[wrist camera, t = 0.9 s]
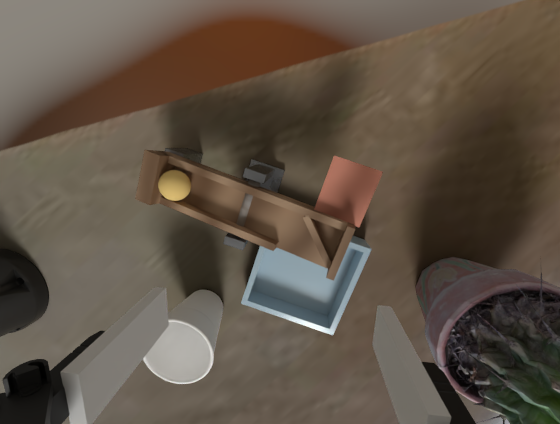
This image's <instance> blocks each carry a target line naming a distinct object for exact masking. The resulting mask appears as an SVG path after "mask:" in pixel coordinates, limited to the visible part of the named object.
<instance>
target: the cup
mask: <svg viewBox="0 0 560 424" xmlns="http://www.w3.org/2000/svg"><path fill="white" fill-rule="evenodd" d="M222 313H223V303H222V301H221V299H220V297H219V296H218V295H217V294H215V293H214V292H212V291H209V290H198V291H195V292H194V293H192V294H191V295H190V296H189V297H187V298H186V299H185V300H184V301H182V302H181V303H180V304H179V305H177V306H176V307H175V308H174V309H172V310H171V311H170V312H169V313H168V322H169V326H168V327H167V329H166V330H165V331H164V332H163V334H162V335H161V336H160V338H159V339H158V340H157V341H156V343H155V344H154V345H153V346H152V348H151V349H150V350H149V352H148V353H147V354H146V355H145V357H144V358H143V360H144V362H145V364H146V365H147V367H148V368H149V369H150V370H151V371H152V372H153V373H154V374H156V375H157V376H158V377H160V378H162V379H164V380H166V381H169V382H172V383H177V384H187V383H193V382H196V381H198V380H200V379H202V378H203V377H204V376H205V375H206V374H207V373H208V372H209V371H210V369H211V367H212V364H213V360H214V349H215V345H216V339H217V335H218V331H219V326H220V322H221V318H222Z"/></svg>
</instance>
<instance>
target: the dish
mask: <svg viewBox="0 0 560 424" xmlns="http://www.w3.org/2000/svg"><path fill="white" fill-rule="evenodd" d="M370 252H371V248H370V246H369V245H368V244H367V242H366V241H365V240H364V239H361V238H359V237H356V236H352V239H351V241H350V243H349V246H348V248H347V250H346V253H345V255H344V258H343V260H342V262H341V265H340V267H339V269H338V272H337V274H336V276H335V279H334V281H333V280H330V279H328V278H326V276H327V271H328V269H327V268H325V267H322V266H320V265H317V264H315V263H313V262H310V261H308V260H305V259H303V258H301V257H298V256H296V255H294V254H291V253H289V252H286V251H284V250H282V249H279V248H276V249H275V250H274V251H272V250H269V249H267V248H264V247H262V246H260V248H259V251H258V254H257V257H256V260H255V263H254V266H253V269H252V272H251V275H250V278H249V281H248V284H247V287H246V290H245V293H244V296H243V299H242V302H241V304H244V305H247V306H250V307H253V308H255V309H258V310H261V311H264V312H267V313H270V314H273V315H276V316H279V317H281V318H284V319H287V320H290V321H293V322H296V323H299V324H302V325H305V326H308V327H310V328H313V329H316V330H319V331H322V332H325V333H328V334H331V335H333V334H334V332H335V329H336V327H337V325H338V323H339V320H340V318H341V316H342V314H343V312H344V309H345V307H346V305H347V303H348V300H349V298H350V296H351V294H352V292H353V289H354V287H355V285H356V283H357V280H358V278H359V276H360V274H361V272H362V269H363V267H364V265H365V263H366V260H367V258H368V256H369V254H370Z"/></svg>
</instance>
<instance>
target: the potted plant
mask: <svg viewBox="0 0 560 424" xmlns="http://www.w3.org/2000/svg"><path fill="white" fill-rule="evenodd" d="M540 259H541V258H540ZM416 293H417V298H418V301H419V304H420V307H421V310H422V313H423V316H424V319H425V322H426V325H425V335H426V338H427V341H428V345H429V348H430V351H431V353H432V355H433V357H434V359H435V361H436V363H437V365H438V367H439V368H440V369H441V370H442V371H443V372H444V373H445V375H446V376H447V378H448V380H449V381H450V383H451V385H452V386H453V388H454V389H455V391H457V392H458V393H460V394H462V395H463V396H465V397H466V398H468V399H469V400H471V401H473V402H476V403H477V404H475V405H482V406H484V408H485V409H486V410H489V411H492V412H495V413H498V414H500V416H497V417H494V418H498V417H501V418H502V419H503V424H504V421H505V420H506V419H508V421H509V422H510V424H560V288H559V287H557V286H554V285H552V284H550V283H548V282H546V281H543V280H542V273H541V279H539V278H536V277H533V276H531V275H528V274H526V273H523V272H521V271H518V270H516V269H496V268H493V267H490V266H486V265H483V264H480V263H476V262H473V261H470V260H466V259H461V258H456V257H450V258H445V259H441V260H438V261H436V262H434V263H432V264H431V265H430V266H428V267H427V268H426V269H424V270H423V271H422V273H421V275H420V278H419V280H418V283H417V285H416ZM494 418H491V419H494ZM488 420H490V419H488ZM485 421H486V420H485ZM481 422H482V421H481Z"/></svg>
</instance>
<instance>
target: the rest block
mask: <svg viewBox="0 0 560 424" xmlns="http://www.w3.org/2000/svg"><path fill="white" fill-rule="evenodd" d="M165 151H166V152H171V153H173V154H176V155H178V156H181V157H184V158H186V159H189V160H192V161H194V162H197V163H201V159H202V155H203V154H202V153H199V152H196V151H193V150H191V149H188V148H165Z"/></svg>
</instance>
